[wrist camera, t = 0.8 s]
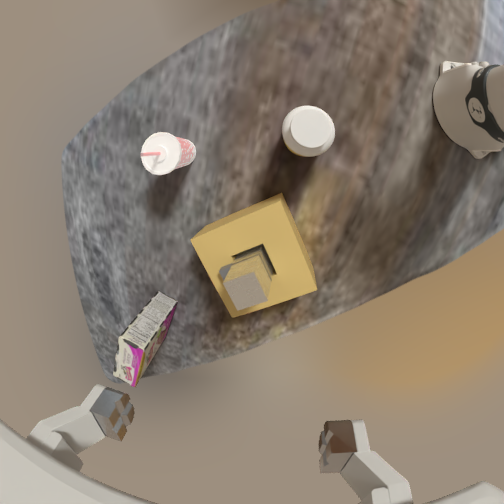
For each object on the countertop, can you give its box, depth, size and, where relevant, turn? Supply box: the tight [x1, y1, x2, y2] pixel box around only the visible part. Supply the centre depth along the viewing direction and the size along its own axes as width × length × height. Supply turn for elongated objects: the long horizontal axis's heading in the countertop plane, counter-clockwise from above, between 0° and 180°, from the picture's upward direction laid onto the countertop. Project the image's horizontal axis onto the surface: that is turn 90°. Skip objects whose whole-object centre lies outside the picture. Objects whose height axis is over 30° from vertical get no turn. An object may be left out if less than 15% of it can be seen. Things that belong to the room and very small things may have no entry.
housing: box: [191, 193, 317, 318], centre depth 43 cm, size 14×14×10 cm
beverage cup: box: [140, 132, 196, 175], centre depth 37 cm, size 6×6×14 cm
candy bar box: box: [113, 291, 178, 387], centre depth 48 cm, size 11×5×16 cm, turn 156°
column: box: [223, 244, 274, 311], centre depth 40 cm, size 4×4×16 cm
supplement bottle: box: [282, 106, 335, 157], centre depth 34 cm, size 7×7×13 cm
